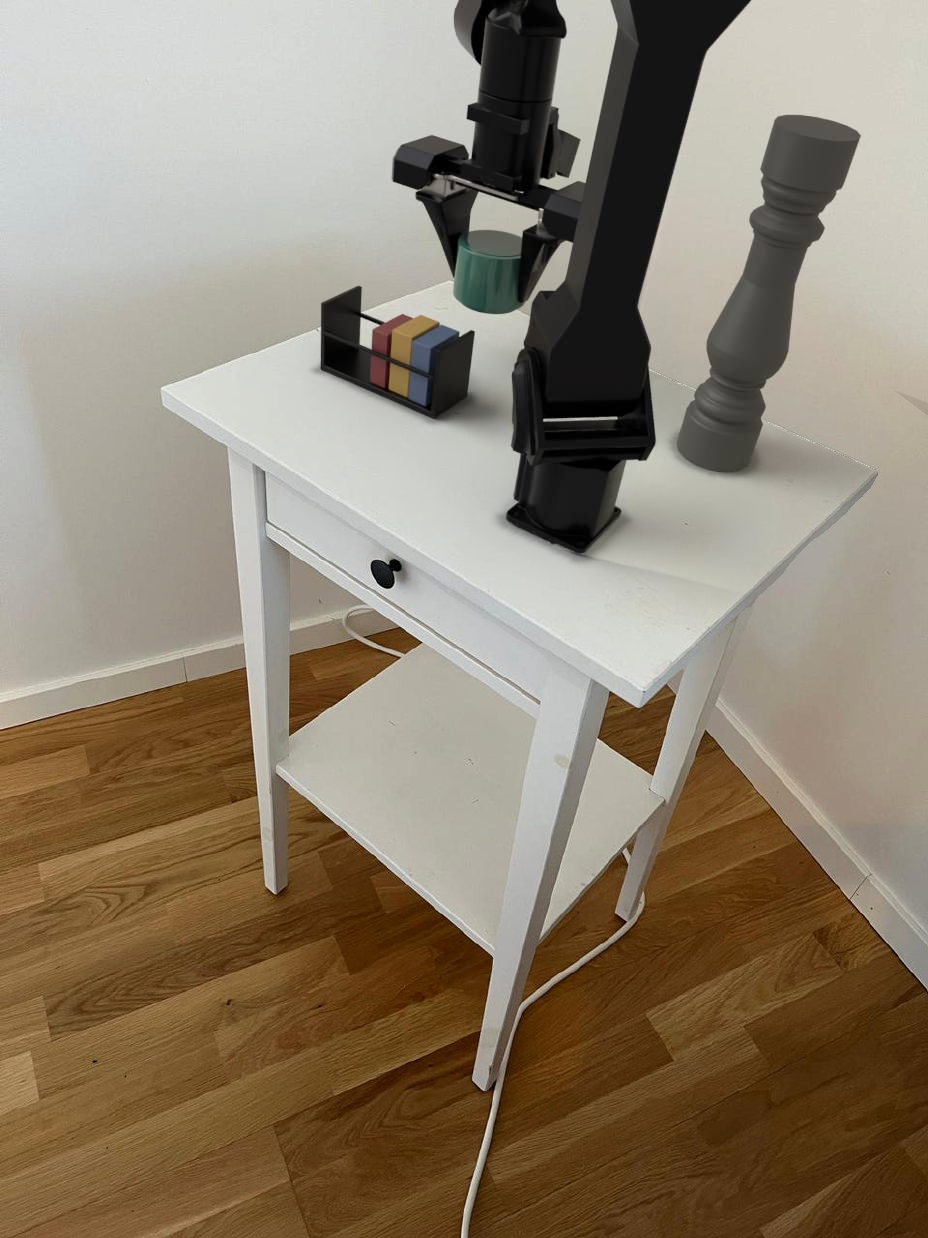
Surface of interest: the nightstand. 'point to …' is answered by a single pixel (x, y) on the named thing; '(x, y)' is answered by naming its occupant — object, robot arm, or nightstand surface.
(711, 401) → the candle holder
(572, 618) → the nightstand surface
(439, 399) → the rack
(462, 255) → the green glass jar
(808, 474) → the nightstand surface
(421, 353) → the books
